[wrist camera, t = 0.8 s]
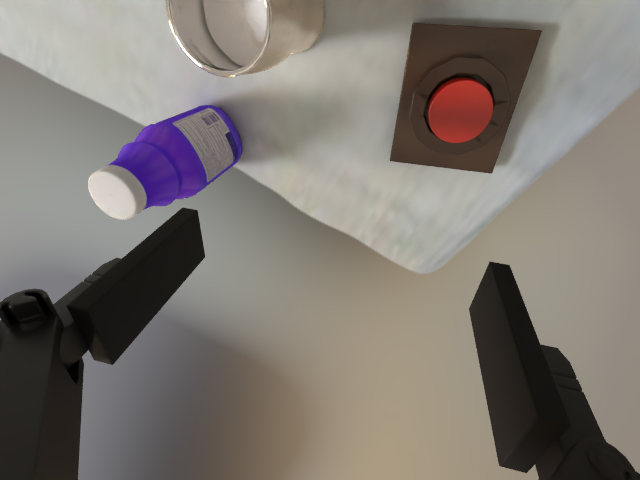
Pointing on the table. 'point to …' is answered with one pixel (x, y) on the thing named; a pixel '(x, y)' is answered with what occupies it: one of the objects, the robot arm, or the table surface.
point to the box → (452, 62)
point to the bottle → (167, 162)
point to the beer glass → (244, 32)
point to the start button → (460, 110)
